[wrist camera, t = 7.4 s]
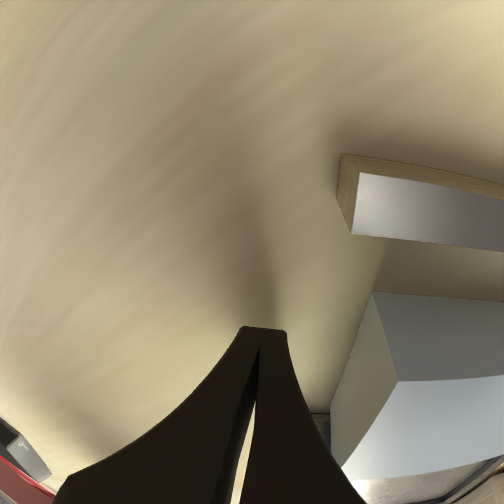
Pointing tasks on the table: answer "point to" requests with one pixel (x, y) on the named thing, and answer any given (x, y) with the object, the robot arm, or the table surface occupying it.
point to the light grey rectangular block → (420, 387)
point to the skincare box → (486, 492)
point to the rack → (426, 230)
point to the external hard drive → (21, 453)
